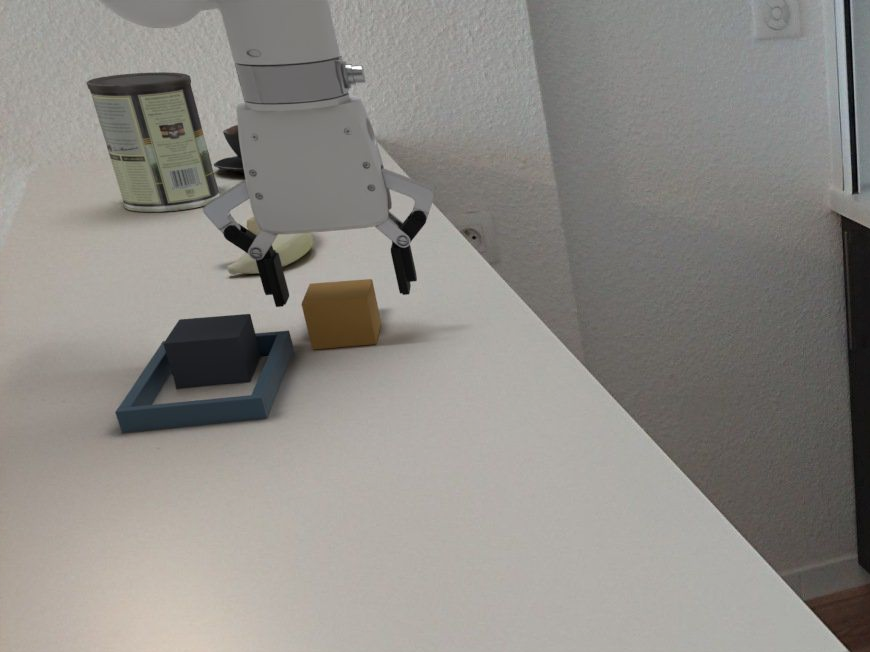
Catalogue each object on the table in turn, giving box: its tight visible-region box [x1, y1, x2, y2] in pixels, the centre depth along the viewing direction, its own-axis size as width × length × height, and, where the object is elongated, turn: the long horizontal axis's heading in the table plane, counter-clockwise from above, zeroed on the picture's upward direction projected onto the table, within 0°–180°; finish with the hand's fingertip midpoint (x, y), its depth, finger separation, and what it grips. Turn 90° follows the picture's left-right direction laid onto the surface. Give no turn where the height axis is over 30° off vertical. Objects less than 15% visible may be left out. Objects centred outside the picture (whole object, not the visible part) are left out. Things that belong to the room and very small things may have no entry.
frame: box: [114, 330, 295, 434], centre depth 96 cm, size 16×9×2 cm, turn 18°
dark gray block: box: [163, 313, 262, 390], centre depth 98 cm, size 6×5×4 cm
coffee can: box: [86, 71, 221, 213], centre depth 149 cm, size 10×10×14 cm
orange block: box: [301, 278, 382, 351], centre depth 109 cm, size 6×5×4 cm
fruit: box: [226, 216, 314, 275], centre depth 131 cm, size 7×15×3 cm, turn 18°
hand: (345, 296), depth 108 cm, fingers open, 9 cm apart
